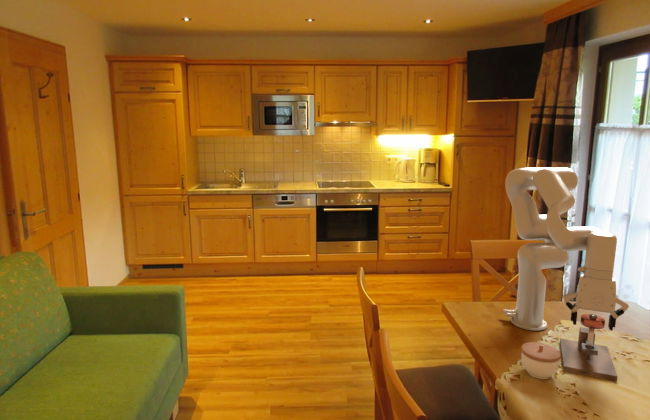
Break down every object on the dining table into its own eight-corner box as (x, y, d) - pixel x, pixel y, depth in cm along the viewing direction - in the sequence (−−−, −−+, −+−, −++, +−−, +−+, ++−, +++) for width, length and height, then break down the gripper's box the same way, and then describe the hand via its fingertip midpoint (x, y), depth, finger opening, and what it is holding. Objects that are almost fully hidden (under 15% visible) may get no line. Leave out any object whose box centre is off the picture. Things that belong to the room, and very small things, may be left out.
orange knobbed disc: (577, 361, 138) (582, 317, 135) (575, 352, 144) (580, 309, 141) (601, 365, 135) (607, 321, 133) (598, 356, 141) (603, 313, 138)
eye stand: (563, 370, 137) (566, 345, 136) (559, 342, 155) (562, 319, 154) (617, 381, 132) (620, 354, 130) (606, 350, 150) (609, 326, 148)
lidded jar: (556, 387, 128) (559, 357, 127) (516, 376, 134) (519, 348, 132) (560, 370, 137) (562, 342, 136) (522, 361, 143) (524, 334, 141)
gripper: (566, 272, 134) (561, 325, 138) (634, 280, 127) (627, 336, 131) (564, 265, 141) (559, 316, 144) (629, 273, 134) (622, 326, 137)
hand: (592, 325), depth 137 cm, fingers open, 9 cm apart
